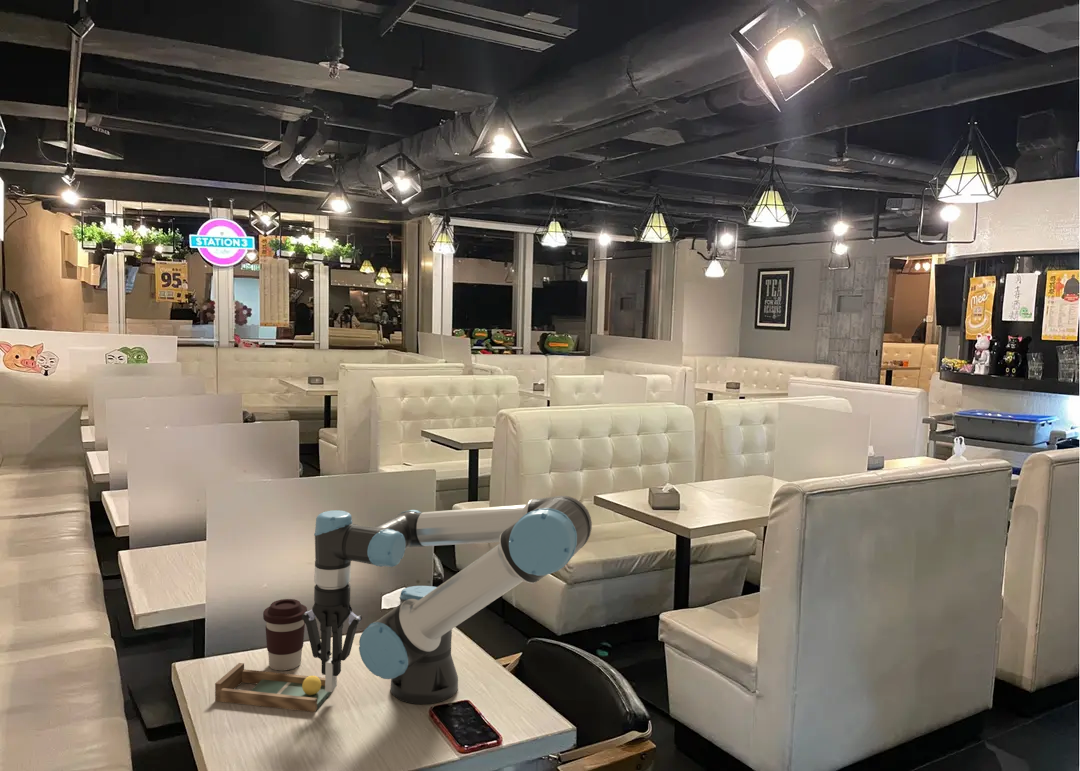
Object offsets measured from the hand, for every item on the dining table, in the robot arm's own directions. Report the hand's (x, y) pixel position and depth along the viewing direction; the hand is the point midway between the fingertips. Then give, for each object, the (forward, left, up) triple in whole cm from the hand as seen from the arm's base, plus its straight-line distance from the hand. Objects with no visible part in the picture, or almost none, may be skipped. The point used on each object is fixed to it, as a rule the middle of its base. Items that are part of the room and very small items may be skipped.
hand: (330, 688), depth 171 cm
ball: (+4, 0, 0) cm, 4 cm away
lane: (+12, 0, -3) cm, 13 cm away
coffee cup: (+17, -14, -3) cm, 23 cm away
